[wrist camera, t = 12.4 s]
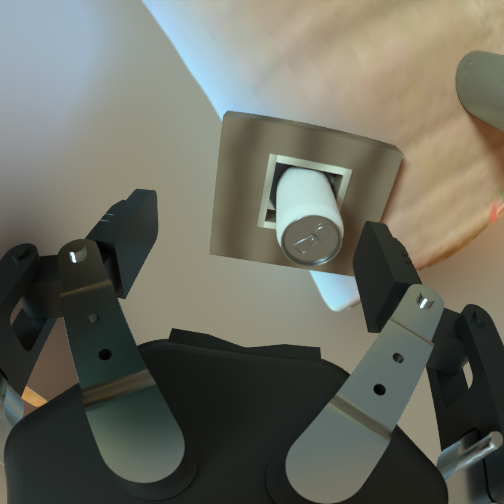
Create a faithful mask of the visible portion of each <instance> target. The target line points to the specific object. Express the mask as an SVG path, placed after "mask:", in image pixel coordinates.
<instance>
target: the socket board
mask: <svg viewBox="0 0 504 504" xmlns="http://www.w3.org/2000/svg"><path fill="white" fill-rule="evenodd" d="M402 157H403V153H402V152H401V151H400V150H399V149H398V148H397V147H396V146H395V145H391V144H388V143H384V142H381V141H377V140H374V139H370V138H366V137H362V136H359V135H355V134H351V133H347V132H343V131H338V130H334V129H330V128H325V127H321V126H316V125H311V124H307V123H302V122H296V121H291V120H286V119H280V118H274V117H268V116H262V115H256V114H249V113H242V112H234V111H227V112H226V113H225V114H224V116H223V123H222V131H221V140H220V149H219V158H218V167H217V177H216V187H215V197H214V198H215V199H214V208H213V219H212V231H211V243H210V254H212V255H218V256H225V257H231V258H238V259H244V260H250V261H256V262H263V263H269V264H276V265H282V266H289V267H295V268H302V269H308V270H315V271H321V272H328V273H335V274H341V275H348V276H355V275H354V271H353V256H354V253H355V250H356V247H357V244H358V241H359V238H360V236H361V233H362V230H363V227H364V224H365V223H366V221H374V222H380V219H381V216H382V214H383V211H384V208H385V206H386V203H387V200H388V198H389V195H390V192H391V189H392V187H393V184H394V181H395V178H396V175H397V172H398V169H399V166H400V163H401V160H402ZM276 162H278V163H284V164H290V165H295V166H300V167H306V168H311V169H316V170H321V171H326V172H330V173H335V174H336V177H335V181H334V184H333V188H332V191H333V194H334V197H335V200H336V203H337V206H338V209H339V212H340V215H341V219H342V222H343V228H344V233H343V238H342V246H341V248H340V251H339V252H338V254H337V255H336V256H335V257H334V258H333V259H332V260H331V261H329V262H327V263H325V264H323V265H320V266H315V267H305V266H300V265H297V264H295V263H293V262H292V261H290V260H289V259H288V258H287V257H286V256H285V255H284V253H283V251H282V248H281V246H280V245H279V242H278V239H277V234H276V211H275V210H269V209H267V207H268V202H269V197H270V191H271V186H272V181H273V176H274V170H275V165H276Z"/></svg>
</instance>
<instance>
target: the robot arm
mask: <svg viewBox="0 0 504 504" xmlns="http://www.w3.org/2000/svg"><path fill="white" fill-rule="evenodd" d="M456 88H457V93H458V96H459V99H460V101H461V103H462V104H463V106H464V108H465V109H466V110H467V111H468V112H469V113H470V114H471V115H473V116H474V117H476V118H478V119H480V120H482V121H484V122H486V123H488V124H490V125H491V126H493V127H495V128H497V129H499V130H500V131H502V132H504V55H501V54H495V53H490V52H483V51H475V52H471V53H469V54H467V55H466V56H465V57H464V58H463V59H462V61H461V62H460V64H459V66H458V69H457V74H456ZM157 234H158V211H157V195H156V192H155V190H145V189H136V190H135V191H134V192H133V193H132V194H131V195H130V196H129V197H128V199H127V200H121V201H120V202H118V203H116V204H114V205H113V206H112V207H111V208H110V209H109V210H108V211H107V212H106V215H104V216H103V217H102V218H101V221H99V222H98V223H97V224H96V225H95V227H94V228H93V229H92V230H91V231H90V233H89V234H88V235H87V237H86V238H85V239H76V240H73V241H70V242H68V243H66V244H65V245H64V246H63V247H61V248H60V250H59V252H58V254H57V255H49V256H39V253H38V250H37V248H36V246H35V245H33V244H29V243H25V244H20V245H17V246H15V247H13V248H11V249H10V250H9V251H8V252H7V253H6V254H5V255H4V256H3V257H2V259H1V260H0V464H1V465H3V466H4V468H5V474H6V482H7V504H504V345H503V343H502V341H501V339H500V336H499V334H498V331H497V329H496V327H495V325H494V322H493V320H492V318H491V317H490V315H489V314H488V313H487V312H486V311H485V310H484V309H482V308H481V307H479V306H477V305H474V304H468V305H467V306H465V308H464V309H463V311H462V312H461V314H460V313H457V312H454V311H452V310H449V309H446V308H444V303H443V300H442V299H441V297H440V296H439V294H438V293H437V292H435V291H434V290H433V289H431V288H429V287H428V286H425V285H423V284H422V282H421V280H420V278H419V276H418V274H417V272H416V269H415V267H414V265H413V264H412V261H411V259H410V257H408V256H409V255H408V253H407V251H406V249H405V247H404V246H403V245H402V244H401V243H400V242H399V241H398V240H397V239H396V238H393V237H392V235H391V233H390V231H389V229H388V227H387V225H386V224H384V223H379V222H374V221H366V223H365V224H364V227H363V230H362V233H361V236H360V238H359V241H358V244H357V247H356V250H355V253H354V256H353V271H354V275H355V279H356V283H357V287H358V291H359V295H360V299H361V303H362V307H363V311H364V315H365V320H366V324H367V329H368V332H371V333H380V334H379V335H378V337H377V338H376V340H375V341H374V343H373V344H372V346H371V347H370V349H369V350H368V351H367V353H366V354H365V356H364V357H363V359H362V360H361V361H360V363H359V364H358V366H357V367H356V368H355V370H354V371H353V372H352V374H351V375H350V374H349V373H348V372H346V371H345V370H344V369H342V368H341V367H339V366H337V365H335V364H333V363H331V362H329V361H326V360H324V359H321V352H320V347H308V346H298V345H288V344H282V345H271V346H261V347H248V348H247V347H242V346H239V345H236V344H233V343H231V342H228V341H225V340H222V339H219V338H217V337H214V336H211V335H209V334H204V333H197V332H192V331H186V330H180V329H174V328H172V330H171V333H170V336H169V339H160V340H154V341H150V342H146V343H143V344H140V345H138V346H137V345H136V342H135V340H134V338H133V335H132V333H131V331H130V328H129V326H128V323H127V321H126V319H125V316H124V314H123V311H122V309H121V306H120V303H119V301H118V298H122V299H126V297H127V295H128V292H129V291H130V289H131V287H132V285H133V283H134V281H135V279H136V277H137V275H138V273H139V271H140V269H141V267H142V265H143V264H144V262H145V260H146V258H147V256H148V254H149V252H150V250H151V249H152V247H153V245H154V243H155V241H156V238H157ZM18 301H20V303H21V306H22V309H21V310H20V312H19V314H18V315H17V317H16V319H15V320H14V322H13V324H12V325H10V317H11V313H12V311H13V310H14V308H15V306H16V304H17V303H18ZM58 317H63V318H64V323H65V328H66V333H67V337H68V342H69V346H70V350H71V355H72V358H73V362H74V366H75V370H76V373H77V377H78V381H79V383H77V384H76V385H74V386H72V387H71V388H69V389H68V390H66V391H65V392H63V393H62V394H60V395H58V396H57V397H55V398H54V399H52V400H50V401H49V402H47V403H46V404H44V405H42V406H41V407H39V408H38V409H36V410H35V411H33V412H31V413H30V414H28V415H27V416H25V417H24V416H23V412H24V407H23V406H24V405H23V401H22V398H21V396H22V394H23V391H24V389H25V386H26V384H27V382H28V379H29V377H30V374H31V372H32V370H33V368H34V366H35V363H36V361H37V359H38V357H39V354H40V352H41V350H42V348H43V346H44V344H45V342H46V340H47V338H48V336H49V334H50V332H51V330H52V328H53V326H54V324H55V322H56V320H57V318H58ZM468 361H469V364H470V367H471V370H472V374H473V381H472V385H471V387H470V388H469V389H468V385H467V382H466V378H465V375H464V371H463V367H464V365H465V364H466V363H467V362H468ZM425 366H426V369H427V373H428V378H429V382H430V387H431V392H432V397H433V402H434V407H435V413H436V419H437V424H438V431H439V438H440V445H441V454H440V455H439V457H438V460H437V467H436V466H435V465H434V464H433V463H432V462H431V461H430V460H429V459H428V458H427V457H426V455H425V454H424V453H423V452H422V451H421V450H420V449H419V448H418V447H417V446H416V445H415V444H414V442H413V441H412V440H411V439H410V438H409V437H408V436H407V435H406V434H405V433H404V432H403V431H402V430H401V428H400V427H399V426H398V425H397V422H398V421H399V419H400V417H401V415H402V413H403V411H404V409H405V407H406V405H407V404H408V402H409V399H410V397H411V396H412V394H413V391H414V390H415V387H416V385H417V383H418V381H419V379H420V377H421V375H422V372H423V370H424V368H425Z"/></svg>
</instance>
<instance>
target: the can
mask: <svg viewBox="0 0 504 504" xmlns="http://www.w3.org/2000/svg"><path fill="white" fill-rule="evenodd" d="M343 233H344V228H343V222H342V219H341V215H340V212H339V209H338V206H337V203H336V200H335V197H334V194H333V191H332V188H331V186H330V183H329V180H328V178H327V176H326V175H325V174H324V173H323V172H322V171H321V170H316V169H311V168H306V167H300V166H295V165H294V166H292V167H290V168H288V169H287V170H285V171H284V172H283V173H282V175H281V176H280V178H279V180H278V183H277V196H276V234H277V239H278V242H279V245H280V246H281V248H282V251H283V253H284V255H285V256H286V257H287V258H288V259H289V260H290V261H292V262H293V263H295V264H297V265H300V266H305V267H315V266H320V265H323V264H325V263H327V262H329V261H331V260H332V259H333V258H334V257H335V256H336V255H337V254H338V252H339V251H340V248H341V246H342V238H343Z"/></svg>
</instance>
